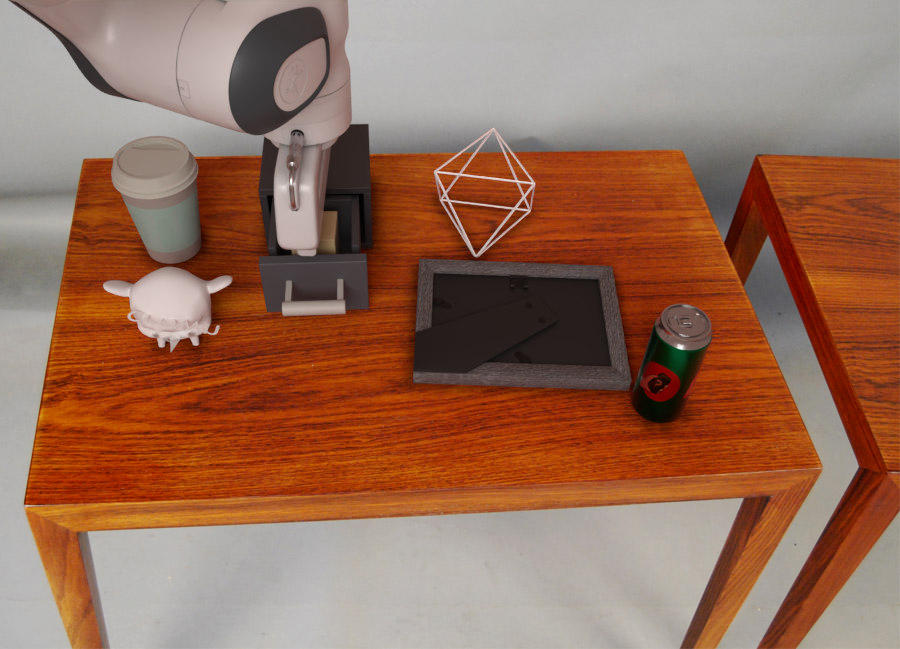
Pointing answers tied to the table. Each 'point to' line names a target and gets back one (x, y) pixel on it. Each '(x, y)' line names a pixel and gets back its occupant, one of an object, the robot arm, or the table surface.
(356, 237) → the open drawer with handle
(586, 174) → the table surface
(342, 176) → the dark grey box
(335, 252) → the block
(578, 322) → the picture frame
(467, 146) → the geometric polyhedron
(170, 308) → the figurine
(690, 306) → the soda can
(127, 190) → the coffee cup
